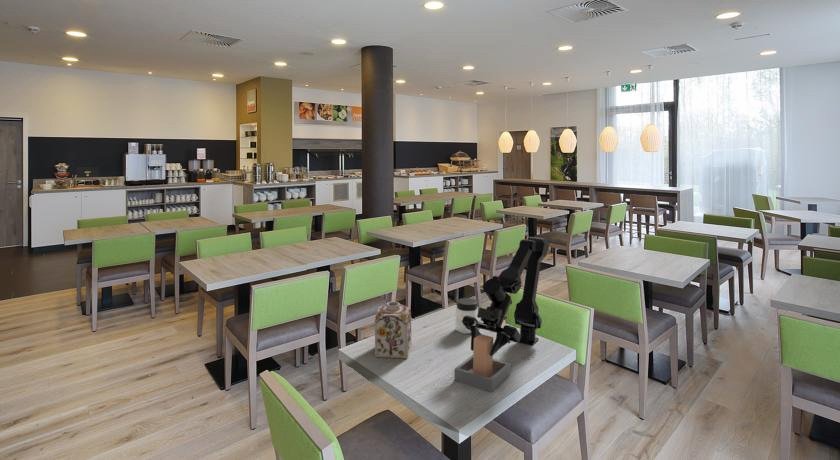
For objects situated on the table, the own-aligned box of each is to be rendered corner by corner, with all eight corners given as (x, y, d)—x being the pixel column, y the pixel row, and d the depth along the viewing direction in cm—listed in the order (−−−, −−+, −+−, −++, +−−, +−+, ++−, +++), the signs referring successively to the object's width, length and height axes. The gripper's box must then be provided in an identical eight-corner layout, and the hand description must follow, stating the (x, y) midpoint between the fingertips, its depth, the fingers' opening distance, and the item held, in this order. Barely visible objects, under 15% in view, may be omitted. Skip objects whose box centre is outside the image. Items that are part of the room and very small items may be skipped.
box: (474, 364, 156) (474, 353, 155) (509, 374, 149) (510, 363, 148) (454, 379, 145) (454, 368, 145) (492, 392, 138) (492, 380, 138)
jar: (451, 328, 186) (451, 300, 184) (466, 324, 191) (467, 296, 189) (466, 336, 179) (466, 306, 177) (481, 331, 184) (482, 302, 182)
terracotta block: (479, 370, 150) (480, 333, 148) (492, 374, 147) (493, 337, 145) (472, 375, 146) (473, 338, 144) (485, 379, 144) (486, 342, 142)
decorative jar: (380, 343, 172) (380, 297, 169) (411, 345, 171) (411, 298, 168) (374, 358, 161) (373, 308, 157) (407, 359, 159) (407, 309, 156)
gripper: (464, 291, 151) (446, 334, 144) (517, 302, 140) (500, 349, 133) (476, 307, 159) (459, 349, 152) (527, 319, 148) (511, 364, 141)
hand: (481, 352), depth 144 cm, fingers open, 6 cm apart
